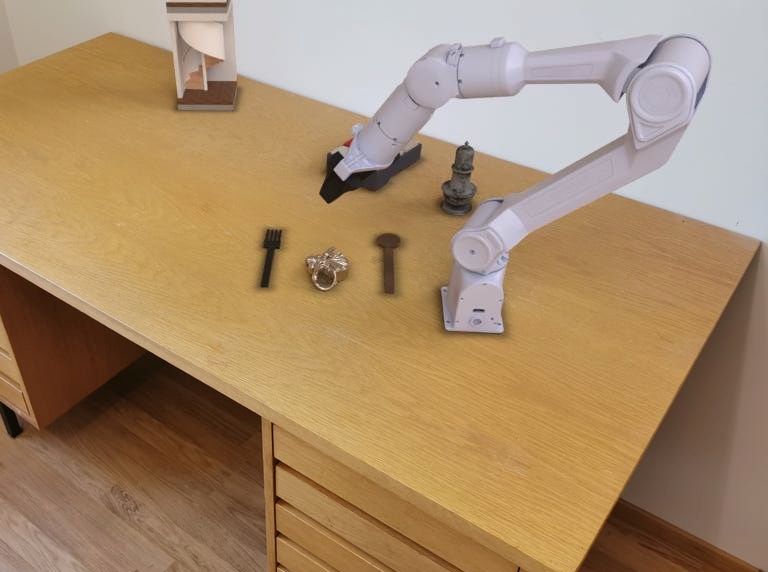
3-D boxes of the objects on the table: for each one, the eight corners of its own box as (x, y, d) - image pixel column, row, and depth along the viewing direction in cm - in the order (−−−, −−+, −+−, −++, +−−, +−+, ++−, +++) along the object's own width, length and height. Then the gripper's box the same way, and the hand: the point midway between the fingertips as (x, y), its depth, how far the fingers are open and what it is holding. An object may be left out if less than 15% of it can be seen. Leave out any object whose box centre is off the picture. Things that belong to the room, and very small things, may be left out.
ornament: (314, 256, 116) (314, 237, 114) (356, 266, 114) (357, 246, 112) (295, 285, 111) (295, 266, 108) (338, 296, 109) (339, 276, 106)
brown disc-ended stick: (401, 293, 109) (402, 290, 109) (377, 292, 110) (377, 289, 109) (399, 236, 120) (400, 233, 120) (377, 235, 120) (377, 232, 120)
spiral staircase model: (178, 110, 154) (156, -82, 130) (185, 88, 162) (165, -97, 138) (233, 110, 154) (221, -82, 130) (237, 88, 162) (226, -97, 138)
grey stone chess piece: (473, 217, 124) (485, 151, 116) (437, 214, 125) (447, 148, 116) (474, 199, 128) (486, 134, 120) (439, 196, 129) (449, 130, 121)
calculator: (423, 140, 136) (377, 168, 127) (420, 161, 139) (375, 191, 130) (373, 123, 141) (326, 149, 132) (371, 144, 144) (324, 172, 135)
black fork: (273, 287, 111) (273, 285, 110) (255, 287, 111) (255, 285, 111) (282, 231, 122) (282, 229, 121) (266, 230, 122) (266, 228, 121)
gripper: (401, 85, 100) (348, 149, 111) (342, 120, 91) (291, 185, 102) (436, 124, 100) (380, 184, 111) (381, 163, 91) (325, 224, 102)
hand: (339, 187), depth 106 cm, fingers open, 7 cm apart
